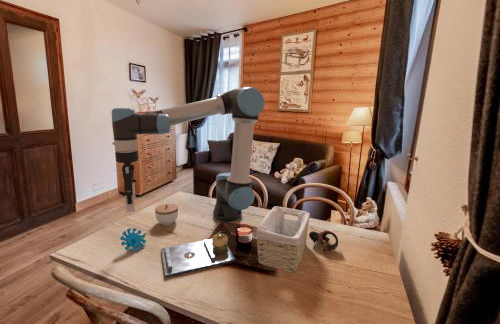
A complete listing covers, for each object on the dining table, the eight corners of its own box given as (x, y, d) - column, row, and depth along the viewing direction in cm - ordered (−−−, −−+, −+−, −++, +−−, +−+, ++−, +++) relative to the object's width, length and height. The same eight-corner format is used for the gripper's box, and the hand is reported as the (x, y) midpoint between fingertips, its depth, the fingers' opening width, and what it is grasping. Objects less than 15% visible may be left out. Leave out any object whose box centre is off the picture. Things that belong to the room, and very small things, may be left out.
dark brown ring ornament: (334, 242, 109) (341, 233, 103) (331, 262, 102) (338, 252, 96) (308, 232, 111) (313, 221, 106) (303, 250, 105) (308, 240, 99)
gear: (128, 254, 93) (117, 231, 96) (121, 261, 96) (111, 238, 98) (153, 244, 103) (142, 223, 105) (145, 251, 105) (136, 230, 108)
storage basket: (296, 277, 85) (299, 239, 82) (252, 265, 91) (254, 228, 88) (308, 243, 107) (311, 211, 104) (272, 235, 113) (274, 204, 110)
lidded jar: (183, 221, 124) (182, 203, 122) (165, 230, 115) (164, 211, 113) (168, 215, 129) (167, 198, 127) (151, 223, 120) (149, 205, 118)
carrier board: (222, 239, 108) (222, 223, 106) (235, 261, 93) (235, 244, 91) (161, 251, 98) (160, 234, 97) (165, 278, 83) (164, 258, 82)
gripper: (117, 145, 101) (122, 194, 106) (111, 158, 79) (117, 219, 84) (138, 145, 104) (141, 192, 109) (137, 156, 82) (142, 216, 87)
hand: (131, 204), depth 96 cm, fingers open, 13 cm apart
